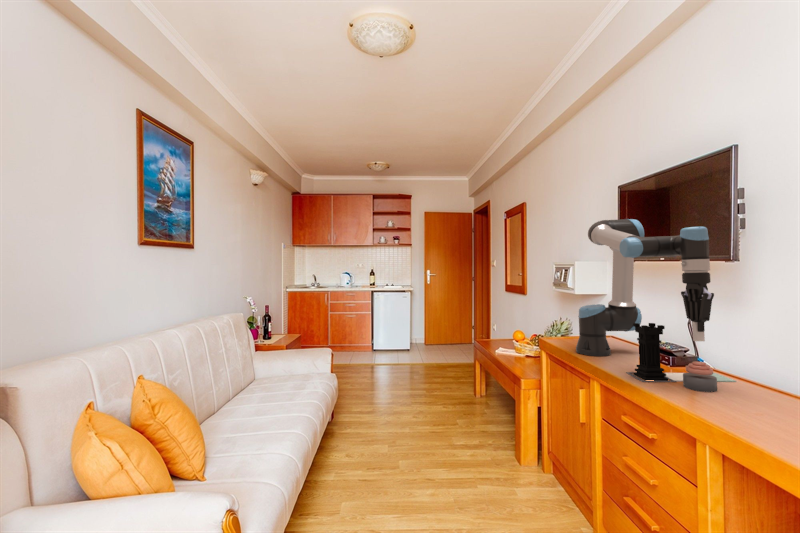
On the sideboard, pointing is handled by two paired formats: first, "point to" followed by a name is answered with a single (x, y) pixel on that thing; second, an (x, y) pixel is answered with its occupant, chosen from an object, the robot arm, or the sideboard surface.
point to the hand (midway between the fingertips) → (698, 340)
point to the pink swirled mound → (699, 368)
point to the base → (700, 382)
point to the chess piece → (649, 352)
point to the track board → (679, 377)
